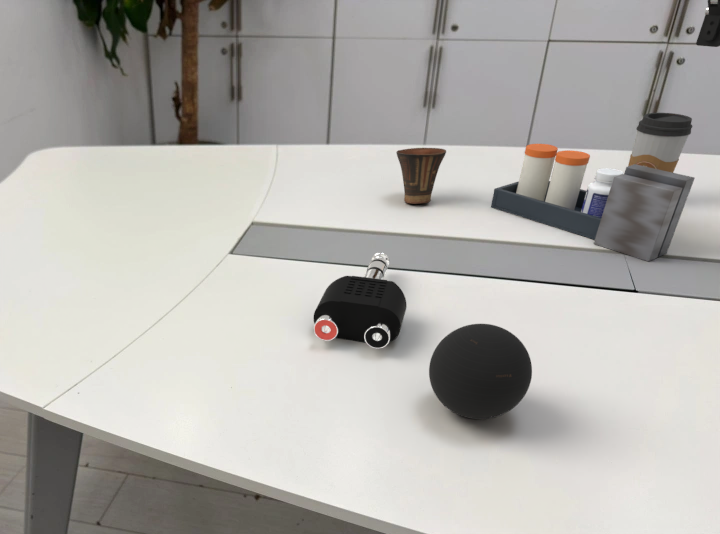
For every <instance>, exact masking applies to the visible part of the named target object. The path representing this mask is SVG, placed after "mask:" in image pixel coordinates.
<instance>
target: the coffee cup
mask: <svg viewBox="0 0 720 534" xmlns="http://www.w3.org/2000/svg"><path fill="white" fill-rule="evenodd" d="M692 123H693V118H692V117H690V116H688V115H683V114H681V113H672V112H650V113H645V114H644V115H643V116H642V119H641V120H639V121H638V125H637V126H636V134H635V138H634V141H633V146H632V150H631V154H630V157H629V160H628V165H627V167H628V166H631V165H634V164H636V165H640V166H645V167H649V168H654V169H658V170H663V171H667V172H672V173H675V172H674V171H675V170H676V167H677V165H678V163H679V160H680V156H681V154H682V151H683V149H684V147H685V145H686V142H687V140H688V138H689V136H690V135H691V134H692V129H693V124H692Z"/></svg>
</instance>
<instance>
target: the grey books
mask: <svg viewBox="0 0 720 534" xmlns="http://www.w3.org/2000/svg"><path fill="white" fill-rule="evenodd" d="M695 178H696V177H694V176H690V175H686V174H680V173H676V172H673V173H672V172H667V171H663V170H658V169H654V168H649V167H645V166H640V165H636V164H634V165H631V166H628V165H627V166H626V167H625V170H624V172H623V174H621V175H618V176H615V177H614V179H613V182H612V185H611V189H610V192H609V195H608V198H607V202H606V205H605V208H604V212H603V215H602V218H601V221H600V225H599V228H598V231H597V234H596V238H595V240H594V242H593V245H595V246H599V247H602V248H605V249H608V250H610V251H614V252H618V253H620V254H624V255H626V256H627V255H628V256H630V257H633V258H637V259H640V260H642V261H646V262H651V261H653V260H655V259H657V258H660V257H662V256H664V255H667V254H668V251H669V248H670V246H671V243H672V240H673V237H674V235H675V233H676V230H677V227H678V224H679V221H680V218H681V216H682V213H683V210H684V208H685V205H686V203H687V200H688V198H689V196H690V192H691V189H692V188H693V187H692V186H693V184H694V181H695Z"/></svg>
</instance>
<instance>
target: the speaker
mask: <svg viewBox="0 0 720 534" xmlns="http://www.w3.org/2000/svg"><path fill="white" fill-rule="evenodd" d="M428 377H429V383H430V386H431V389H432V391H433V393H434V395H435V396H436V398H437V400H439V402H440V403H441V404H442V405H443V406H444V407H446V409H448V410H449V411H451V412H452V413H454V414H456V415H458V416H461V417H463V418H466V419H467V418H468V419H471V420H472V419H473V420H487V419H493V418H497V417H500V416H503V415H504V414H506V413H508V412H510V411H511V410H513V409H514V408H515V407H517V406H518V405H519V403H521V401H522V400H523V399H524V398H525V396H526V394H527V392H528V390H529V389H530V385H531V382H532V378H533V365H532V360H531V357H530V354H529V351H528V350H527V348H526V346H525V345H524V343H523V342H522V341H521V340H520V339H519V338H518V337H517V335H515V334H513V333H512V332H511V331H509V330H508V329H505V328H503V327H501V326H498V325H494V324H491V323H473V324H467V325H464V326H461V327H458V328H456V329H454V330H452V331H451V332H450V333H448V334H447V335H446V336H444V338H442V339H441V340H440V342H439V343H438V344H437V346H436V347H435V349H434V350H433V352H432V355H431V358H430V361H429V367H428Z"/></svg>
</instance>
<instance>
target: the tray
mask: <svg viewBox="0 0 720 534" xmlns="http://www.w3.org/2000/svg"><path fill="white" fill-rule="evenodd" d="M518 183H519V180H518V181H515V182H512V183H509V184H505V185H502V186H500V187H496V188H494V190H493V193H492V194H493V195H492V199H491V202H490V203H491V204H490V208H493V209H496V210H498V211H502V212H505V213H508V214H512V215H514V216H518V217H520V218H524V219H527V220H531V221H534V222H536V223H540V224H543V225H547V226H550V227H553V228H557V229H559V230H563V231H565V232H569V233H572V234H574V235H578V236H582V237H584V238H588V239H590V240H594V241H595V238H596V234H597V231H598V228H599V225H600V221H601V218H600V217H596V216H593V215H589V214H586V213H582V212H581V209H582V206H583V202H584V199H585V195H586V192H587V189H582V188H580V191H579V195H578V199H577V202H576V206H575V209H574V210H572V209H569V208H565V207H562V206H558V205H555V204H551V203H548V202H545V200H546V196H547V192H548V188H549V184H550V180H549V183H548V187H547V191H546V195H545V199H544V201H541V200H537V199H534V198H530V197H527V196H523V195H520V194H516V191H517V187H518Z"/></svg>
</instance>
